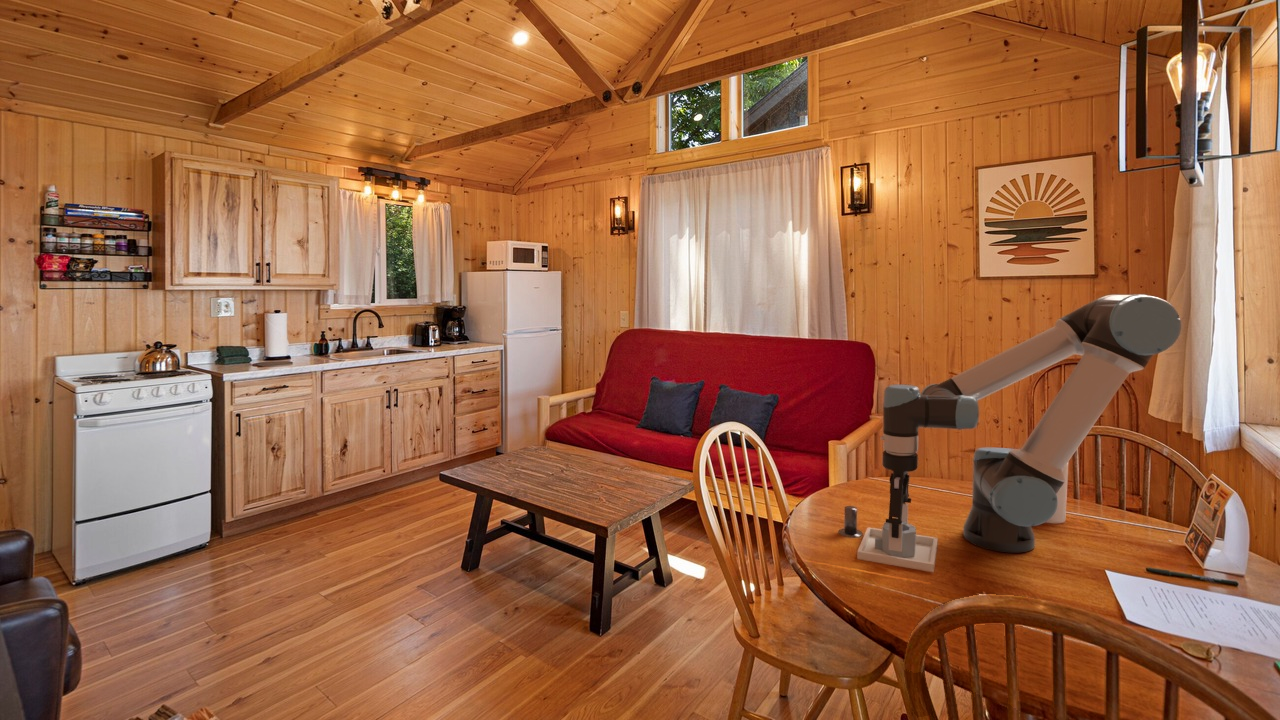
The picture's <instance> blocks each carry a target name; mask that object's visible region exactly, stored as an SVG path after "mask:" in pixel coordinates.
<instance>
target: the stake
mask: <svg viewBox="0 0 1280 720" xmlns="http://www.w3.org/2000/svg"><path fill="white" fill-rule="evenodd" d="M857 525H858V508H857V507H856V506H854V505H845V507H844V525H843V526H844V528H841V529H839V530H838V534H839V535H840V536H843V537H846V538H851V539H855V538H861V537H864V533H863V532H862V531H861V530H859V529H858V526H857Z"/></svg>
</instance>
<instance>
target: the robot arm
mask: <svg viewBox="0 0 1280 720" xmlns="http://www.w3.org/2000/svg"><path fill="white" fill-rule="evenodd" d="M1181 331H1182V320H1181V318H1180V314H1179V313H1178V311H1177V309H1176V308H1175V306H1173V305H1172V304H1171V303H1170V302H1168V301H1167V300H1165V299H1163V298H1160V297H1157V296H1152V295H1149V294H1145V293H1143V294H1142V293H1140V294H1139V293H1138V294H1135V293H1134V294H1109V295H1104V296H1102V297H1099V298H1097V299H1094V300H1092V301H1090V302H1089V303H1085V305H1084V304H1083V306H1080V307H1078V308H1077V309H1075V310H1073V311H1071V312H1070V313H1068V314H1066V315H1064V316H1062V317H1060V318H1058V319H1057V320H1056V321H1055V324H1054V326H1053V327H1050V328H1048V329H1047V330H1044V331H1043V332H1040V333H1038V334H1036V335H1034V336H1033V337H1030V338H1028V339H1026V340H1024V341H1023V342H1020V343H1018V344H1016V345H1014V346H1012V347H1010V348H1009V349H1006V350H1004V351H1002V352H1000V353H998V354H996V355H994V356H993V357H990V358H988V359H987V360H984V361H982V362H980V363H979V364H977V365H974V366H971V368H969V369H966V370H965V371H963V372H960V373H958V374H956V375H954V376H953V377H951V378H948V379H946V380H944V381H942V382H940V383H932V384H928V385H927V386H926V387H924V388H923V390H922V391H921V392H920V389H919V387H918V386H915V385H911V384H891V385H887V387H885V389H884V391H883V392H884V393H883V394H884V395H883V403H882V409H883V410H882V411H883V412H882V415H883V416H882V417H883V418H882V422H883V425H882V427H883V428H882V429H883V430H882V431H883V434H882V435H881V436H880V437H879V438H880V440H881V441H883V442H882V443H883V444H882V446H883V447H882V448H883V451H882V467H884V469H886V470H890V471H892V472H891V474H890V476H889V504H888V505H889V508H888V509H889V510H888V518H885V522H887V523H889V550H894V551H900V552H902V522H904V523H908V522H909V521H908V520H909V518H908V517H909V504H911V503H912V498H910V494H909V483H910V474H909V473H910V472H915V471H916V470H917V469H918V465H919V463H918V461H919V460H918V459H919V455H918V454H917V453H918V452H919V429H920V428H929V429H949V430H950V429H954V430H967V429H968V430H971V429H975V428H976V427H977V426H978V424H979V419H980V418H979V417H980V409H979V402H978V401H979V400H982V399H984V398H986V397H988V396H990V395H993V394H994V393H996V392H999V391H1000V390H1003V389H1005V388H1007V387H1009V386H1010V385H1013V384H1015V383H1017V382H1019V381H1022V380H1023V379H1024V380H1025V378H1028V377H1029V376H1031V375H1034V374H1036V373H1038V372H1040V371H1042V370H1044V369H1047V368H1048V367H1051V366H1053V365H1055V364H1057V363H1059V362H1061V361H1064V360H1066V359H1068V358H1070V357H1072V356H1074V355H1078V356H1081V358H1080V360H1079V361H1078V362H1077V364H1076V366H1075V367H1074V369H1073V370H1072V371H1071V373H1070V374H1069V376H1068V378H1067V379H1066V380H1065V382H1064V383H1063V385H1062V387H1061V388H1060V390H1059V391H1058V392H1057V394H1056V396H1054V399H1053V400H1052V402H1051V403H1050V405H1049V406H1048V407H1047V409H1046V411H1045V412H1044V414H1043V415H1042V417H1041V418H1040V419H1039V421H1038V422H1037V424H1036V426H1035V427H1034V428H1033V430H1032V431H1031V432H1030V435H1028V437H1027V439H1026V440H1025V442H1024V444H1023V445H1022V447H1019V448H1017V449H1016V448H1008V447H993V446H992V447H990V446H989V447H988V446H987V447H979V448H977V449H975V451H974V454H973V458H972V462H973V468H972V469H973V470H972V471H973V472H972V503H971V509H970V511H969V513H968V515H967V517H966V520H965V522H964V525H963V534H962V535H963V537H964V539H965V540H966V541H967V542H968V543H971V544H973V545H974V546H978V547H979V548H983V549H986V550H990V551H994V552H999V553H1001V552H1002V553H1009V554H1012V553H1013V554H1014V553H1015V554H1018V553H1019V554H1020V553H1026V552H1029V551H1032V550H1033V549H1035V545H1036V544H1035V543H1036V541H1035V540H1036V539H1035V538H1036V537H1035V534H1034V530H1033V526H1034V527H1036V526H1040V525H1042V524H1044V523H1046V521H1048V520H1049V519H1050V518H1051V517H1052V516H1053V515H1054V514H1055V512H1056V509H1057V505H1058V501H1057V495H1056V494H1057V492H1058V491H1059V489H1060V488H1061V487H1062V485H1063V484H1064V482H1065V477H1064V474H1063V468H1064V467H1065V466H1066V464H1067V463H1068V464H1069V461H1070V459H1071V458H1072V457H1073V456H1074V454H1075V453H1076V452H1077V450H1078V449H1079V447H1080V445H1081V444H1082V442H1083V441H1084V440H1085V438H1086V437H1087V436H1088V434H1089V432H1090V431H1091V429H1093V427H1094V425H1095V424H1096V422H1097V420H1099V418H1100V416H1101V415H1102V414H1103V413H1104V411H1105V410H1106V408H1107V406H1108V405H1109V404H1110V402H1111V401H1112V399H1113V398H1114V396H1115V395H1116V393H1117V392H1118V391H1119V389H1120V388H1121V386H1122V385H1123V383H1124V382H1125V381H1126V380H1127V378H1128V376H1129V375H1130V374H1131V373H1134V372H1138V371H1143V370H1144V369H1145V368H1146V366H1147V365H1148V363H1149V362H1150V361H1151V359H1152V358H1153V357H1154V355H1157V354H1160V353H1162V352H1164V351H1167V350H1168V349H1170V348H1171V347H1172V346H1173V345H1174V344H1176V342H1177V340H1178V339H1179V336H1180V334H1181ZM908 524H909V523H908Z"/></svg>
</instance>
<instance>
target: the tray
mask: <svg viewBox="0 0 1280 720" xmlns="http://www.w3.org/2000/svg"><path fill="white" fill-rule="evenodd" d="M882 532H883V528H882V529H881V528H874V527H870V526H869V527H866V530H865V533H864V534H863V536H862V537H863V538H862V540H861V542H860V544H859V546H858V549H857V552H856V553H857V554H856V555H857V556H856V559H857V560H859V561H867V562H871V563H876V564H877V563H878V564H881V565H883V564H884V565H888V566H894V567H901V568H906V569H912V570H917V571H923V572H928V573H932V574H933V573H935V565H936V558H937V552H938V551H937V550H938V537H935V536H928V535H922V534H916V548H915V556H914V557H909V558H901V557H895V556H889V555H888V554H886V553H884V552H883V551H882V550H879V549H875V538H876V537H880V538H882Z"/></svg>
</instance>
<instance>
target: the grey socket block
mask: <svg viewBox="0 0 1280 720" xmlns="http://www.w3.org/2000/svg"><path fill="white" fill-rule="evenodd" d="M916 527H917V526H914V525H912V524H910V523H904V522H902V552H900V551H894V550H889V523H887V522H886V521H884V523H883V525H882V529H883V532H882V538H880V537H876V538H875V549H879V550H882V551H883V552H884V553H886V554H888V555H889V556H895V557H901V558H909V557H914V556H915V548H916V535H917V534H916V533H917V528H916Z"/></svg>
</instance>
